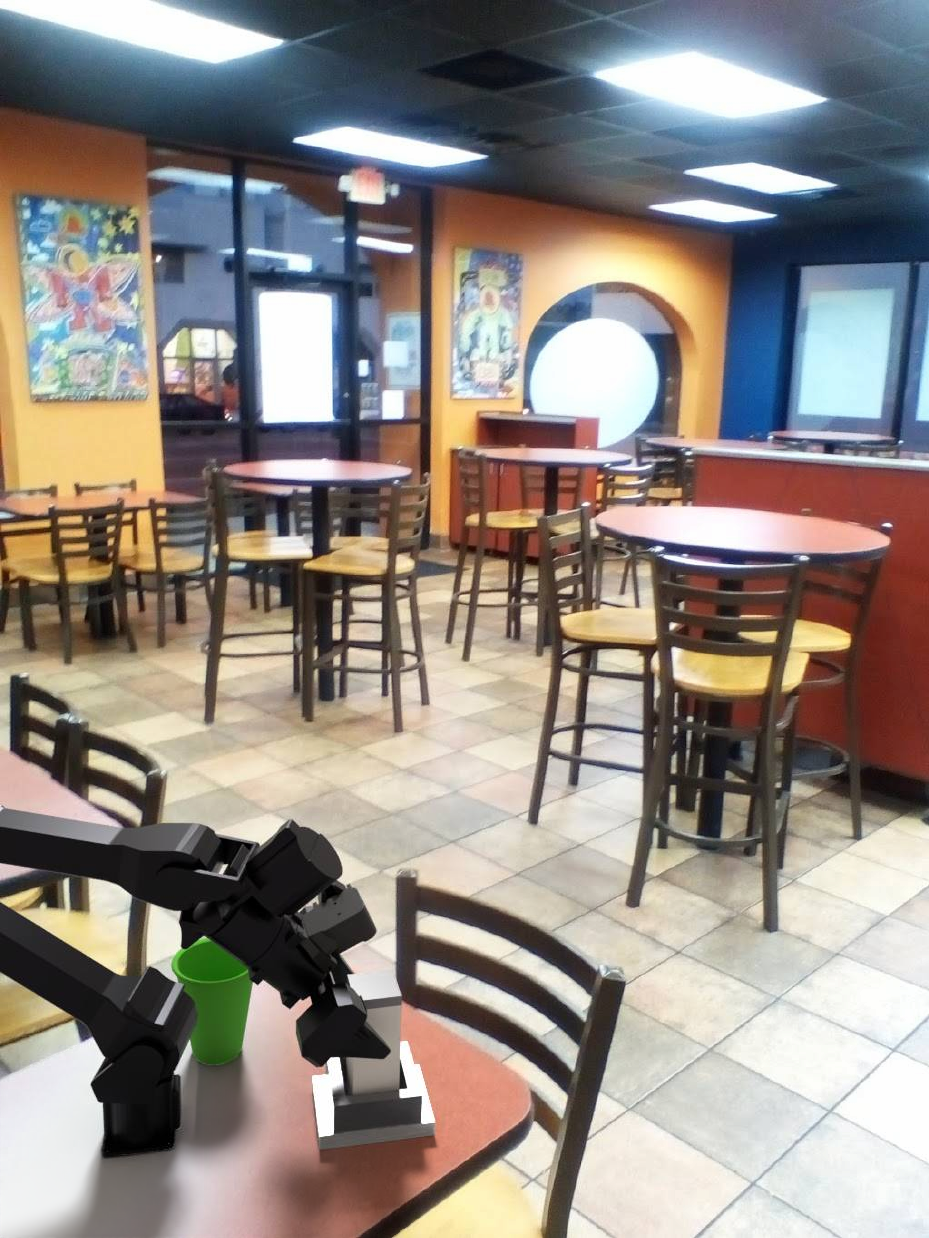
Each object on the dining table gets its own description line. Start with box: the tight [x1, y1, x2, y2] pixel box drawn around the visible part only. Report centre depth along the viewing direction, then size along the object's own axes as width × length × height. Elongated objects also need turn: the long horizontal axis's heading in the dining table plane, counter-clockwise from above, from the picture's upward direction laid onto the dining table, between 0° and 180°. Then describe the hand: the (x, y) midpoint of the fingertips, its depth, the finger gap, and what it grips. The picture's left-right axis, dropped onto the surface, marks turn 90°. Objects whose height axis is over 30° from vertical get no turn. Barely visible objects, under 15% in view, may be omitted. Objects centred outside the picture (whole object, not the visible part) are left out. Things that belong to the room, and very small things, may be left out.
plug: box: [346, 969, 403, 1096], centre depth 99 cm, size 4×4×12 cm
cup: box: [170, 937, 254, 1066], centre depth 107 cm, size 9×9×11 cm
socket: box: [312, 1040, 436, 1151], centre depth 100 cm, size 11×9×4 cm
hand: (376, 1024), depth 98 cm, fingers open, 9 cm apart
